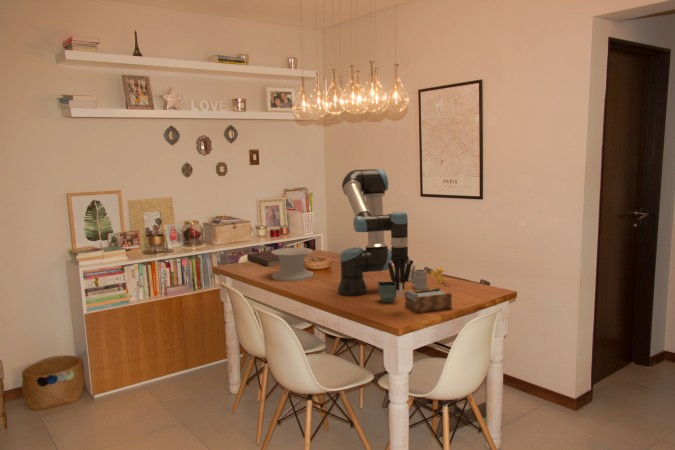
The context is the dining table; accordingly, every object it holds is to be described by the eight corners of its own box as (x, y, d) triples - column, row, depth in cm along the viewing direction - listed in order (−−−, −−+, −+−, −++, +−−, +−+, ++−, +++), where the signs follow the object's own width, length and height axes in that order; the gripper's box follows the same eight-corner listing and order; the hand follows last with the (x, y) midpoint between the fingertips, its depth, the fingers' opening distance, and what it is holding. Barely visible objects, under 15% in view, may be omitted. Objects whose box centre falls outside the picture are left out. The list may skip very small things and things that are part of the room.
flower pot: (394, 298, 271) (394, 281, 270) (397, 303, 262) (397, 285, 261) (377, 299, 271) (377, 281, 270) (379, 304, 262) (379, 286, 261)
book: (296, 263, 370) (295, 255, 369) (266, 267, 357) (266, 260, 357) (275, 256, 395) (275, 250, 394) (247, 260, 383) (247, 253, 382)
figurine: (452, 286, 293) (452, 270, 292) (430, 284, 298) (430, 268, 297) (457, 281, 304) (457, 266, 303) (436, 279, 309) (436, 264, 308)
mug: (419, 291, 285) (419, 268, 283) (405, 286, 295) (405, 265, 293) (430, 288, 289) (430, 266, 287) (416, 284, 299) (416, 263, 297)
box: (416, 313, 245) (416, 297, 244) (405, 306, 257) (405, 291, 256) (451, 308, 251) (451, 293, 250) (438, 302, 262) (438, 287, 261)
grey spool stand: (265, 280, 319) (264, 254, 317) (281, 271, 343) (281, 247, 341) (304, 282, 312) (304, 255, 309) (319, 272, 335) (318, 248, 333)
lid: (415, 302, 245) (415, 295, 245) (406, 296, 255) (405, 290, 255) (450, 297, 251) (450, 291, 250) (439, 292, 261) (439, 286, 260)
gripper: (389, 248, 240) (390, 300, 243) (416, 246, 244) (416, 297, 247) (383, 246, 247) (383, 296, 250) (408, 243, 251) (409, 293, 254)
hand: (400, 296), depth 248 cm, fingers closed
